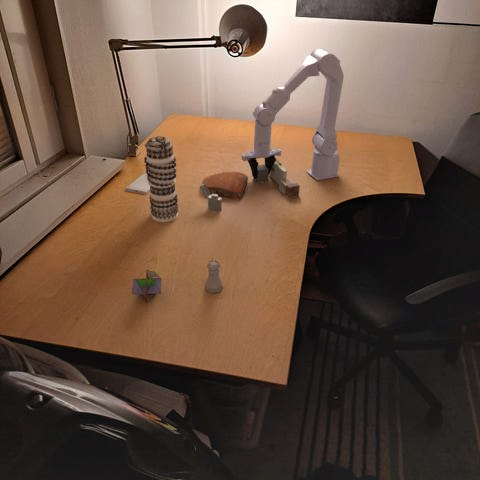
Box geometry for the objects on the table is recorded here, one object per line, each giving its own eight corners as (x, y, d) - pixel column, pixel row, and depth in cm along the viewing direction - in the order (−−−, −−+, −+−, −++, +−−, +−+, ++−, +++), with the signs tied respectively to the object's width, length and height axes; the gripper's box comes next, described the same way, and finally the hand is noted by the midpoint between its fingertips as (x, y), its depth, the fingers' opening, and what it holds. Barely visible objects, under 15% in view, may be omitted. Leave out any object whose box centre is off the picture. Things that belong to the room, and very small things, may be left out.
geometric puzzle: (160, 303, 104) (159, 269, 105) (130, 304, 104) (129, 270, 104) (163, 301, 111) (162, 268, 112) (134, 302, 111) (134, 269, 111)
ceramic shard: (210, 163, 163) (250, 173, 161) (207, 180, 166) (246, 190, 164) (199, 176, 150) (242, 186, 148) (196, 193, 152) (239, 204, 151)
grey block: (263, 177, 166) (263, 164, 163) (267, 181, 163) (268, 168, 160) (253, 178, 165) (253, 166, 162) (257, 183, 162) (258, 170, 159)
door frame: (271, 170, 171) (272, 155, 167) (299, 195, 154) (301, 179, 151) (260, 171, 169) (261, 157, 166) (288, 197, 153) (289, 182, 149)
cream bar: (272, 175, 166) (273, 159, 163) (285, 186, 159) (286, 170, 155) (268, 176, 166) (268, 160, 162) (280, 187, 158) (281, 171, 155)
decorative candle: (171, 225, 137) (165, 147, 123) (144, 219, 139) (136, 142, 125) (184, 211, 144) (180, 136, 130) (159, 205, 146) (152, 131, 132)
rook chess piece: (204, 282, 114) (204, 257, 110) (222, 282, 115) (222, 256, 110) (205, 294, 111) (204, 268, 106) (223, 293, 111) (223, 267, 106)
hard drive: (143, 173, 164) (125, 187, 154) (163, 176, 162) (146, 191, 152) (143, 177, 165) (125, 191, 155) (163, 180, 163) (147, 195, 153)
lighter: (221, 209, 145) (221, 187, 141) (219, 212, 144) (219, 189, 139) (202, 204, 148) (202, 182, 143) (200, 206, 146) (199, 184, 142)
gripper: (275, 134, 161) (273, 168, 168) (238, 139, 156) (237, 174, 163) (285, 141, 155) (282, 176, 163) (246, 146, 151) (245, 182, 158)
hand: (260, 176), depth 163 cm, fingers open, 4 cm apart
